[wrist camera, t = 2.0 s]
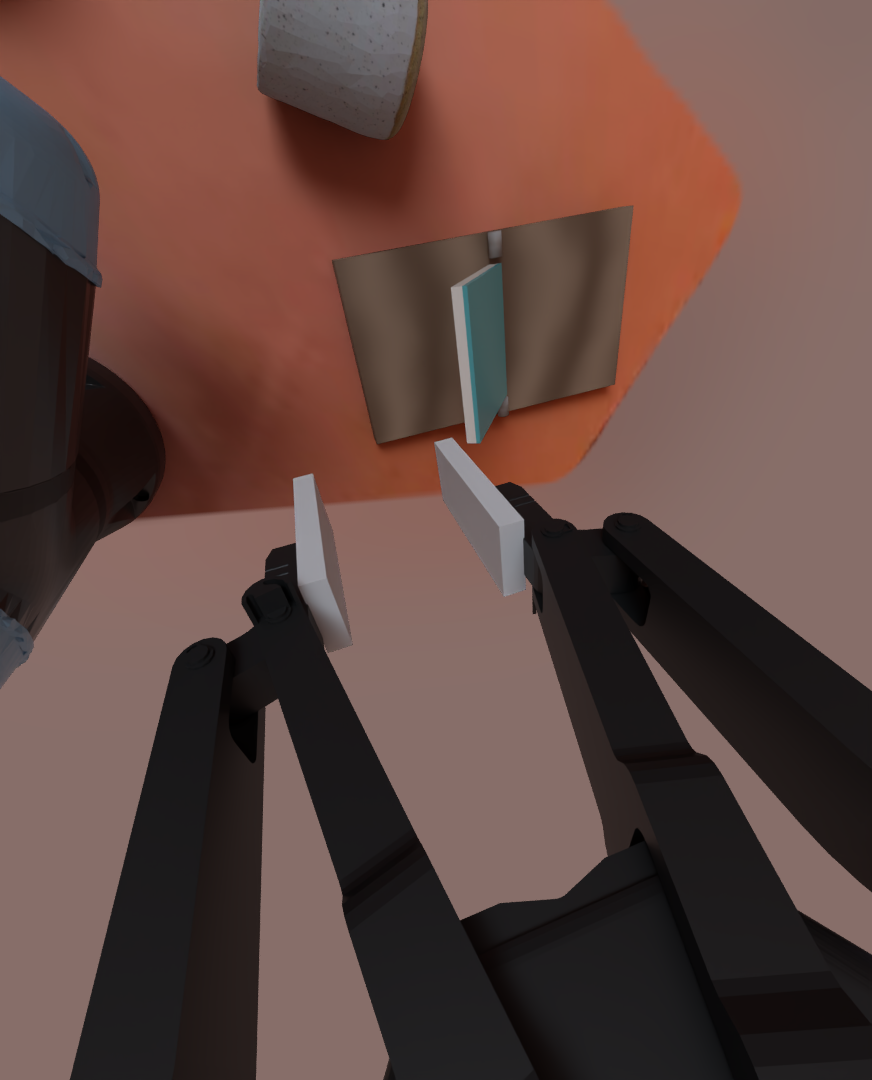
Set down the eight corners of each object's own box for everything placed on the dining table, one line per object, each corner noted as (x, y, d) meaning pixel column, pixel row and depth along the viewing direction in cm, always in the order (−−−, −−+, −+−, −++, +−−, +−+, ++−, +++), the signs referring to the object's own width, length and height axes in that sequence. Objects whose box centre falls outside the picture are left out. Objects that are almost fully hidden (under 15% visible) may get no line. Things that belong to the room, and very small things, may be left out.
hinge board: (374, 438, 40) (379, 448, 38) (331, 260, 32) (334, 261, 30) (605, 380, 44) (621, 387, 42) (621, 206, 35) (641, 204, 33)
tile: (467, 443, 32) (480, 443, 31) (450, 287, 26) (467, 285, 25) (496, 394, 39) (507, 394, 39) (488, 264, 33) (501, 263, 33)
